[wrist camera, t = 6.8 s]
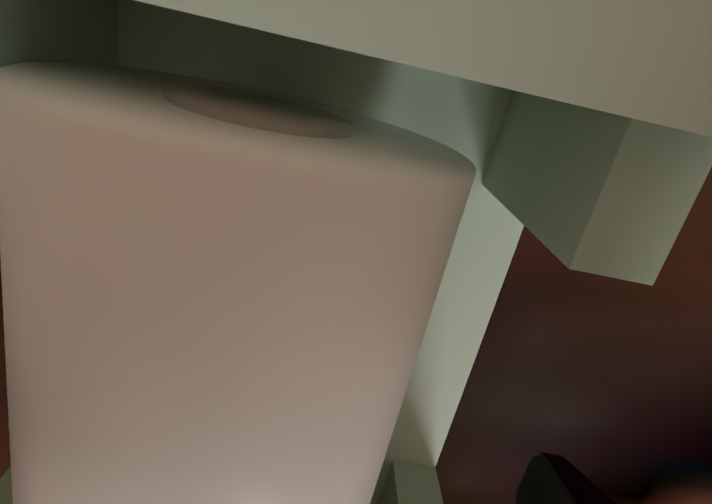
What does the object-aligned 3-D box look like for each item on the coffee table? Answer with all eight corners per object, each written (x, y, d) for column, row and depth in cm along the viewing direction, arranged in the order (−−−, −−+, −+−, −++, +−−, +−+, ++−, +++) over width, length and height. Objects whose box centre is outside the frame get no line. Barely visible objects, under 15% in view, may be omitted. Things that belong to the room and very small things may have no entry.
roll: (353, 506, 12) (287, 835, 7) (140, 440, 12) (-75, 703, 7) (467, 134, 9) (505, 223, 3) (170, 59, 9) (-192, 40, 4)
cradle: (401, 516, 14) (437, 809, 9) (76, 471, 13) (-113, 767, 8) (570, 35, 10) (885, 15, 4) (80, -88, 9) (-400, -341, 3)
